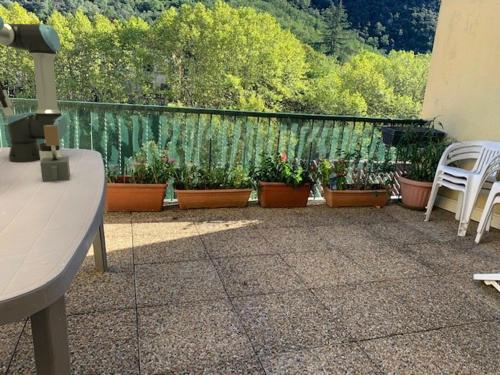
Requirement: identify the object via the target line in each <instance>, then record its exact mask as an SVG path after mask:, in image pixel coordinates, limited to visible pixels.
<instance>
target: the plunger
mask: <svg viewBox="0 0 500 375" xmlns="http://www.w3.org/2000/svg"><path fill="white" fill-rule="evenodd" d="M44 134H45V139H44V141H45V142H44V143H46V146H51V150H52V158H53V160H57V156H56V148H55V146H58V145H59V146H60V145H61V142H60V140H61V139H59V131H58V125H44Z"/></svg>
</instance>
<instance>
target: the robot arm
mask: <svg viewBox="0 0 500 375" xmlns="http://www.w3.org/2000/svg"><path fill="white" fill-rule="evenodd" d="M0 45H1V46H6V47H10V48H13V49H16V50H23V51H28V54H29V55H30V56H31V57H32V60H33V70H34V71H33V72H34V77H35V90H36V100H37V110H35V112H32V111H31V112H21V113H15V114H14V112H13V110H12V107H13V103H12V101H11V98H10V97H9V94H8V92H7V86H6V85H5V84H4V83H3V81H2V79H1V78H0V107H1V110H2V112H3V113H4V116H5V117H7V127H8V133H9V140H10V147H9V148H10V149H9V153H8V160H9V161H10V162H13V163H15V162H16V163H18V162H19V163H27V162H34V161H35V162H36V161H39V160H40V154H39V150H40V145H39V144H38V140H45V134H44V125H58V131H59V140H61V139H63V138H64V137H65V135H66V134H67V130H68V121H67V118H66V117H65V116H63V115H62V114H63V113H62V111H61V110H60V109H59V108H58V99H57V97H58V96H57V86H56V76H55V75H56V74H55V64H54V59H55V57H56V56H57V52H59V51H60V50H61V40H60V36H59V33H58V32H57V30H56V29H55V27H54V26H52V25H50V24H43V23H41V24H40V23H5V21H4V18H3V17H2V15H0Z"/></svg>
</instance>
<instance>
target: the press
mask: <svg viewBox="0 0 500 375" xmlns="http://www.w3.org/2000/svg"><path fill="white" fill-rule="evenodd" d="M69 160H70V159H69V156H62V157H57V160H53V158H43V159H42V161H40V164H39V165H40V172H41V178H42V182H43V183H46V182H47V183H48V182H59V181H60V182H61V181H63V182H64V181H70V177H71V170H70V162H69Z"/></svg>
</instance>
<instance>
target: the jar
mask: <svg viewBox="0 0 500 375" xmlns="http://www.w3.org/2000/svg"><path fill="white" fill-rule="evenodd" d="M39 148H40V150H39V154H40V162H41V161H42V159H43V158H52V150H51V146H46V143H45V142H43V143H40V144H39ZM55 148H56V156H57V157H63V156H62V149H61V148H60V145H58V146H55Z"/></svg>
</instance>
